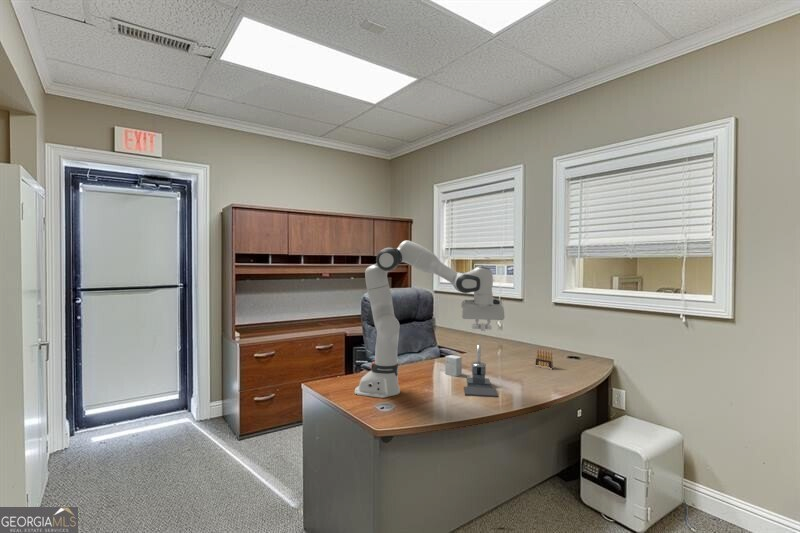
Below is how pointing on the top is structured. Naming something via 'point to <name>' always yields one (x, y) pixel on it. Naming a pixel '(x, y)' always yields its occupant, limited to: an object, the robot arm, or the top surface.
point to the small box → (453, 365)
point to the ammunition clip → (544, 358)
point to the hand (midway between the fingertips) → (482, 328)
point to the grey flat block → (474, 326)
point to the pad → (480, 391)
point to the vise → (478, 373)
